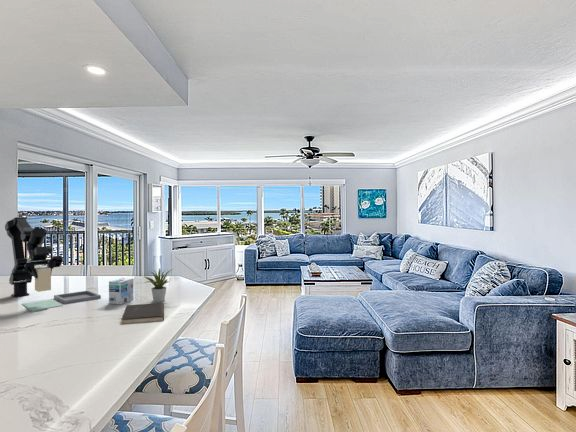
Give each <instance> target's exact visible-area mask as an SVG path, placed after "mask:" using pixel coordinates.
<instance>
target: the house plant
mask: <svg viewBox="0 0 576 432" xmlns="http://www.w3.org/2000/svg"><path fill="white" fill-rule="evenodd" d="M173 270H175V269H170V270H168V271H167V269H165V270H164V271H162V270H161V268H158V273H157V271H156V270H154V269H152V271H153V272H152V271H150V270H148V272H150V273H148V272H147V274H149V275H150V274H152V277H153V278H151V277H148V276H144V278H145V279H146V280H147V281H146V283H149V282H150V283H151V284H152V285H153V286H154V287H151V294H152V295H151V296H152V300H153V302H154V303H161V302H164V301H165V299H166V294H167V293H166V292H167V287H166V286H164V285H165V284H167V283H169V281H168V279H167V277H168V276H169V274H170V273H171V271H173ZM166 271H167V272H166ZM165 272H166V273H165ZM160 301H161V302H160Z"/></svg>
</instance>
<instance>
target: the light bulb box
mask: <svg viewBox="0 0 576 432" xmlns="http://www.w3.org/2000/svg"><path fill="white" fill-rule="evenodd" d="M134 280H135V279H134V278H130V277H121V278H117V279H116V278H115V279H113V280H110V281H108V304H109V305H112V304H113V305H123V304H126V303H128V302H131V301H134V294H135V293H134V287H135V286H134Z"/></svg>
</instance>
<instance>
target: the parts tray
mask: <svg viewBox="0 0 576 432" xmlns="http://www.w3.org/2000/svg"><path fill="white" fill-rule="evenodd" d="M101 298H102V297H101V294H98V293H96V292H93V291H91V290H83V291H74V292H69V293H60V294H54V295H53V299H55V301H56V300H57V302H60V303H62V304H65V305H69V304H74V303H75V304H76V303H79V302H86V301H92V300H93V301H94V300H99V299H101Z"/></svg>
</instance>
